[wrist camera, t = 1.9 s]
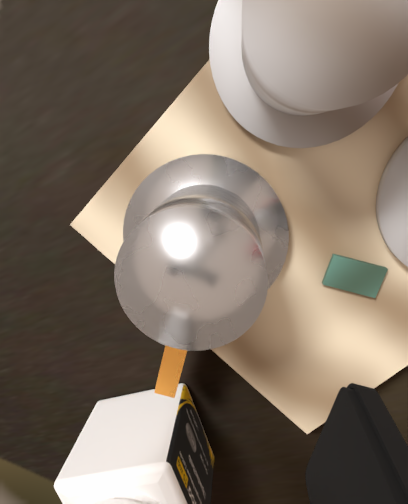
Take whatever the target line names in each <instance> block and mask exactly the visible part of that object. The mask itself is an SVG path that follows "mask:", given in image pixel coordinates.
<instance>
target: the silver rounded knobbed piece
mask: <svg viewBox="0 0 408 504" xmlns="http://www.w3.org/2000/svg"><path fill="white" fill-rule="evenodd" d="M123 241H124V242H123V244H122V245H121V247H120V250H119V252H118V255H117V259H116V263H115V271H114V279H115V287H116V292H117V296H118V299H119V301H120V304H121V306H122V308H123V310H124V311H125V313H126V315H127V316H128V317H129V319H130V320H131V321H132V322H133V324H134V325H135V326H136V327H137V328H138V329H139V330H141V331H142V332H143V333H144V334H146V335H147V336H148V337H150V338H152V339H153V340H155V341H157V342H159V343H161V344H164V345H166V346H165V350H164V354H163V358H162V362H161V367H160V371H159V375H158V379H157V383H156V388H155V392H154V393H157V394H161V395H164V396H168V397H172V398H175V395H176V391H177V387H178V383H179V379H180V376H181V372H182V368H183V364H184V360H185V356H186V353H187V350H190V351H200V350H209V349H213V348H217V347H221V346H223V345H226V344H228V343H230V342H232V341H234V340H236V339H237V338H239V337H240V336H241V335H243V334H244V333H245V332H246V331H247V330H248V329H249V328H250V327H251V326H252V325H253V324H254V322H255V321H256V320H257V318H258V316H259V315H260V313H261V311H262V309H263V306H264V304H265V300H266V296H267V290H268V289H269V288H270V286H271V285H272V284H273V283H274V281H275V280H276V278H277V277H278V275H279V273H280V272H281V269H282V267H283V265H284V262H285V259H286V255H287V251H288V243H289V229H288V223H287V218H286V215H285V211H284V208H283V206H282V204H281V202H280V200H279V198H278V196H277V194H276V193H275V191H274V190H273V188H272V187H271V186H270V184H269V183H268V182H267V181H266V180H265V179H264V178H263V177H262V176H261V175H260V174H259V173H258V172H257V171H255V170H254V169H252V168H251V167H249V166H248V165H246V164H244V163H242V162H240V161H238V160H235V159H232V158H229V157H226V156H221V155H216V154H194V155H188V156H184V157H180V158H178V159H175V160H172V161H170V162H168V163H166V164H164V165H162V166H160V167H159V168H157V169H156V170H155V171H153V172H152V173H151V174H149V175H148V176H147V177H146V178H145V179H144V180H143V181H142V183H141V184H140V185H139V186H138V188H137V189H136V190H135V192H134V194H133V196H132V197H131V199H130V202H129V204H128V207H127V209H126V213H125V217H124V224H123Z"/></svg>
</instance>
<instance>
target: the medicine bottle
mask: <svg viewBox="0 0 408 504" xmlns="http://www.w3.org/2000/svg"><path fill="white" fill-rule="evenodd" d="M154 392H155V389H152V390H147V391H143V392H138V393H133V394H128V395H124V396H119V397H114V398H109V399H104V400H100V401H98V402H97V403H96V405H95V407H94V409H93V411H92V413H91V415H90V417H89V418H88V420H87V422H86V424H85V426H84V428H83V430H82V432H81V434H80V435H79V437H78V439H77V441H76V443H75V445H74V447H73V449H72V451H71V452H70V454H69V456H68V458H67V460H66V462H65V464H64V466H63V468H62V469H61V471H60V473H59V475H58V477H57V479H56V481H55V483H54V488H55V490H56V492H57V494H58V496H59V497H60V499H61V501H62V503H63V504H211V493H212V481H213V468H214V455H213V452H212V450H211V447H210V445H209V442H208V439H207V437H206V434H205V432H204V429H203V426H202V424H201V421H200V419H199V416H198V413H197V411H196V408H195V406H194V403H193V401H192V398H191V395H190V393H189V390H188V388H187V386H186V384H184V383H181V384H178V387H177V391H176V395H175V398H172V397H168V396H164V395H161V394H157V393H154Z"/></svg>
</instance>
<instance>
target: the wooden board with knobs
mask: <svg viewBox="0 0 408 504" xmlns="http://www.w3.org/2000/svg"><path fill="white" fill-rule="evenodd" d="M209 56H210V59H209V61H208V62H207V63H206V64H205V65H204V67H203V68H202V69H201V70H200V71H199V72H198V74H197V75H196V76H195V77H194V78H193V80H192V81H191V82H190V83H189V84H188V86H187V87H186V88H185V89H184V90H183V91H182V93H181V94H180V95H179V96H178V97H177V99H176V100H175V101H174V102H173V103H172V104H171V106H170V107H169V108H168V109H167V110H166V112H165V113H164V114H163V115H162V116H161V118H160V119H159V120H158V121H157V122H156V123H155V125H154V126H153V127H152V128H151V129H150V131H149V132H148V133H147V134H146V135H145V136H144V138H143V139H142V140H141V141H140V142H139V144H138V145H137V146H136V147H135V148H134V150H133V151H132V152H131V153H130V154H129V155H128V157H127V158H126V159H125V160H124V161H123V163H122V164H121V165H120V166H119V167H118V169H117V170H116V171H115V172H114V173H113V174H112V176H111V177H110V178H109V179H108V180H107V182H106V183H105V184H104V185H103V186H102V187H101V189H100V190H99V191H98V192H97V193H96V195H95V196H94V197H93V198H92V199H91V201H90V202H89V203H88V204H87V205H86V206H85V208H84V209H83V210H82V211H81V212H80V214H79V215H78V216H77V217H76V218H75V219H74V221H73V222H72V223H71V224H70V225H71V226H72V227H73V228H74V229H76V230H77V231H78V232H79V233H80V234H81V235H82V236H84V237H85V238H86V239H87V240H88V241H89V242H90V243H91V244H93V245H94V246H95V247H96V248H97V249H98V250H99V251H100V252H102V253H103V254H104V255H105V256H106V257H107V258H108V259H109V260H111V261H112V262H113V263H114V264H115V263H116V259H117V255H118V252H119V250H120V247H121V245H122V244H123V242H124V241H123V224H124V217H125V213H126V209H127V207H128V204H129V202H130V199H131V197H132V196H133V194H134V192H135V190H136V189H137V188H138V186H139V185H140V184H141V183H142V181H143V180H144V179H145V178H146V177H147V176H148V175H149V174H151V173H152V172H153V171H155V170H156V169H157V168H159V167H160V166H162V165H164V164H166V163H168V162H170V161H172V160H175V159H178V158H180V157H184V156H188V155H194V154H216V155H221V156H226V157H229V158H232V159H235V160H238V161H240V162H242V163H244V164H246V165H248V166H249V167H251V168H252V169H254V170H255V171H257V172H258V173H259V174H260V175H261V176H262V177H263V178H264V179H265V180H266V181H267V182H268V183H269V184H270V186H271V187H272V188H273V190H274V191H275V193H276V194H277V196H278V198H279V200H280V202H281V204H282V206H283V208H284V211H285V215H286V218H287V223H288V229H289V243H288V251H287V255H286V259H285V262H284V265H283V267H282V269H281V272H280V273H279V275H278V277H277V278H276V280H275V281H274V283H273V284H272V285H271V286H270V288H269V289H268V290H267V296H266V300H265V304H264V306H263V309H262V311H261V313H260V315H259V316H258V318H257V320H256V321H255V322H254V324H253V325H252V326H251V327H250V328H249V329H248V330H247V331H246V332H245V333H244V334H243V335H241V336H240V337H239V338H237V339H236V340H234V341H232V342H230V343H228V344H226V345H223V346H221V347H217V348H213V349H211V350H212V351H213V352H215V353H216V354H217V355H218V356H219V357H220V358H221V359H222V360H224V361H225V362H226V363H227V364H228V365H229V366H230V367H231V368H233V369H234V370H235V371H236V372H237V373H238V374H239V375H241V376H242V377H243V378H244V379H245V380H246V381H247V382H248V383H250V384H251V385H252V386H253V387H254V388H255V389H256V390H257V391H259V392H260V393H261V394H262V395H263V396H264V397H265V398H267V399H268V400H269V401H270V402H271V403H272V404H273V405H274V406H276V407H277V408H278V409H279V410H280V411H281V412H282V413H283V414H285V415H286V416H287V417H288V418H289V419H290V420H291V421H292V422H294V423H295V424H296V425H297V426H298V427H299V428H300V429H302V430H303V431H304V432H305V433H306V434H308V433H310V432H311V431H313V430H314V429H316V428H317V427H319V426H320V425H322V424H323V423H324V422H326V420H327V418H328V416H329V413H330V411H331V409H332V406H333V404H334V401H335V399H336V397H337V394H338V392H339V390H340V389H341V388H342V387H346V388H347V386H348V385H349V384H351V383H354V384H358V385H362V386H366V387H370V388H373V389H374V388H375V387H377V386H378V385H380V384H381V383H383V382H384V381H386V380H387V379H388V378H390V377H391V376H393V375H394V374H396V373H397V372H399V371H400V370H402V369H403V368H404V367H406V366H407V365H408V0H218V3H217V5H216V8H215V12H214V15H213V19H212V24H211V30H210V39H209Z"/></svg>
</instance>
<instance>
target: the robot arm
mask: <svg viewBox="0 0 408 504" xmlns="http://www.w3.org/2000/svg"><path fill="white" fill-rule="evenodd" d="M306 485H307V490H308V495H309V500H310V504H408V446H407V444H406V442H405V441H404V439H403V437H402V435H401V433H400V432H399V430H398V428H397V426H396V424H395V423H394V421H393V419H392V417H391V415H390V414H389V412H388V410H387V408H386V406H385V405H384V403H383V401H382V399H381V397H380V396H379V394H378V392H377V391H376V390H375V389H373V388H370V387H366V386H362V385H358V384H354V383H351V384H349V385H348V386H347V388H346V387H342V388H341V389H340V390H339V392H338V394H337V397H336V399H335V401H334V404H333V406H332V409H331V411H330V413H329V416H328V418H327V420H326V423H325V425H324V427H323V430H322V432H321V434H320V437H319V439H318V441H317V444H316V446H315V448H314V451H313V453H312V455H311V458H310V460H309V462H308V465H307V468H306Z"/></svg>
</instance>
